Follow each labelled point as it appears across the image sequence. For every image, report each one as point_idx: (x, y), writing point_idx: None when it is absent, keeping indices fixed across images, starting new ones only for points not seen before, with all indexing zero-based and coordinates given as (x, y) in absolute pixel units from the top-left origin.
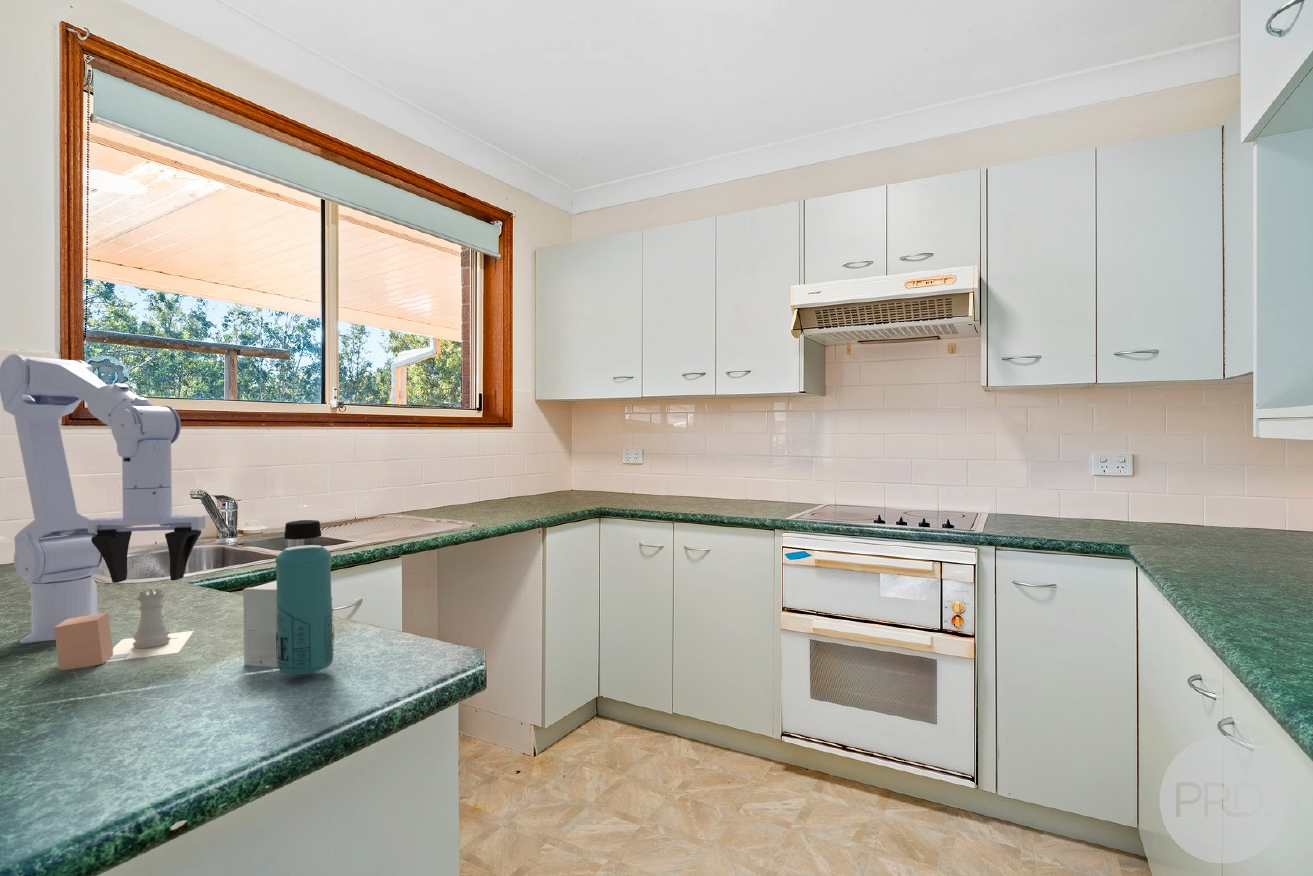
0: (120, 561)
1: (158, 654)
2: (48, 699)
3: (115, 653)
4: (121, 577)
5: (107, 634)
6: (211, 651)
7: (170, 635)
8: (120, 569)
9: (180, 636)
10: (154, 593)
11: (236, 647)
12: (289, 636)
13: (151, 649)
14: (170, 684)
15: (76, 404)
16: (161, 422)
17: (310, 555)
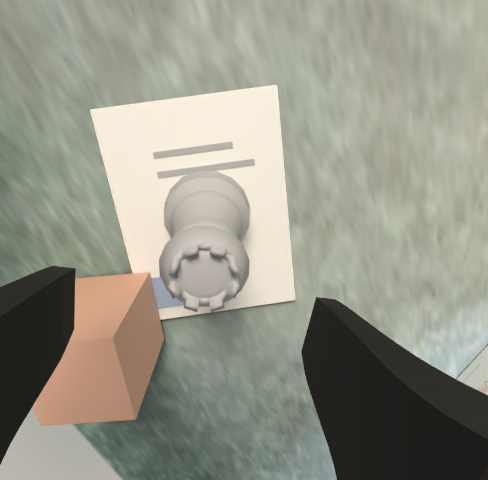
0: (19, 366)
1: (256, 301)
2: (163, 466)
3: (149, 261)
4: (67, 313)
5: (138, 324)
6: (358, 292)
7: (222, 118)
8: (47, 342)
9: (256, 143)
10: (222, 290)
11: (407, 279)
12: None
13: None
14: (327, 451)
15: None
16: None
17: None
